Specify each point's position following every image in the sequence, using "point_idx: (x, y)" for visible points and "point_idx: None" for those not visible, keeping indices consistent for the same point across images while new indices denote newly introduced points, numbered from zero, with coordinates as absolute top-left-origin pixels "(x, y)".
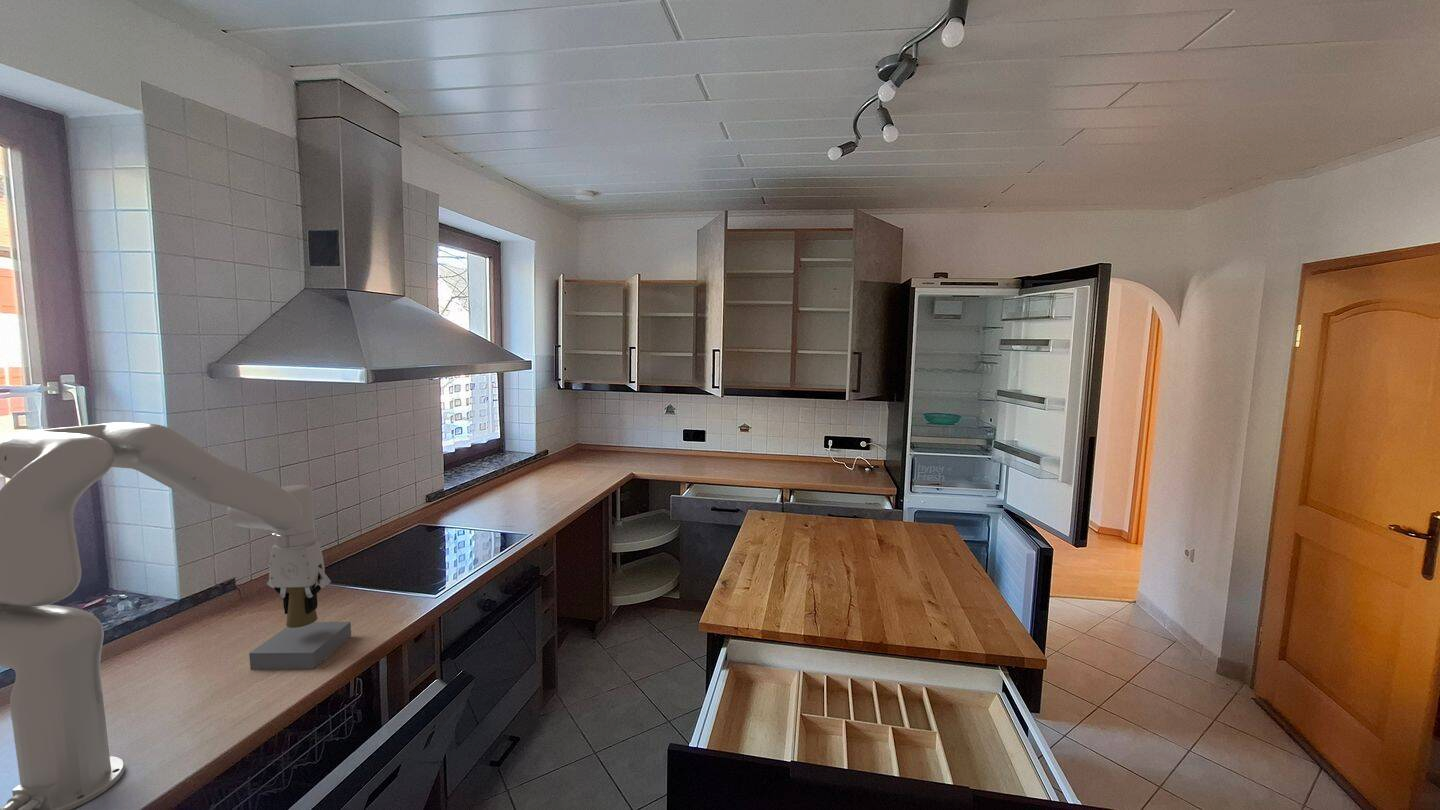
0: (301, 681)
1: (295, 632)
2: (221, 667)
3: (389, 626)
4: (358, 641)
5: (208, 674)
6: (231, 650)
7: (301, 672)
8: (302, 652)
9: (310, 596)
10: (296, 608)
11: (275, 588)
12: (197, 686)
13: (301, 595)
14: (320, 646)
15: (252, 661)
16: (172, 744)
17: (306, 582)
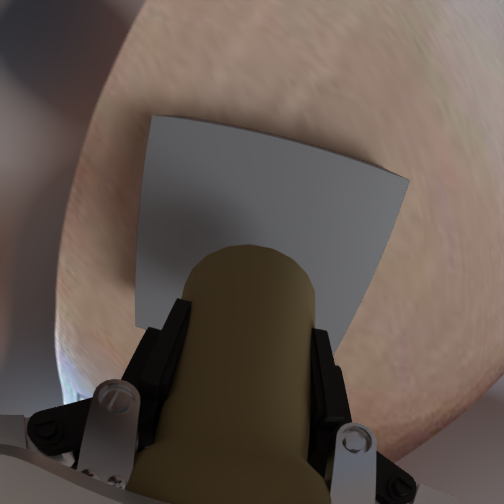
0: (185, 50)
1: None
2: (455, 212)
3: (89, 318)
4: (120, 263)
5: (471, 183)
6: (447, 296)
7: (208, 102)
8: (194, 122)
9: (115, 390)
10: (235, 327)
11: (410, 487)
12: (473, 125)
13: (183, 419)
14: (144, 162)
15: (387, 170)
16: None
17: (7, 501)
